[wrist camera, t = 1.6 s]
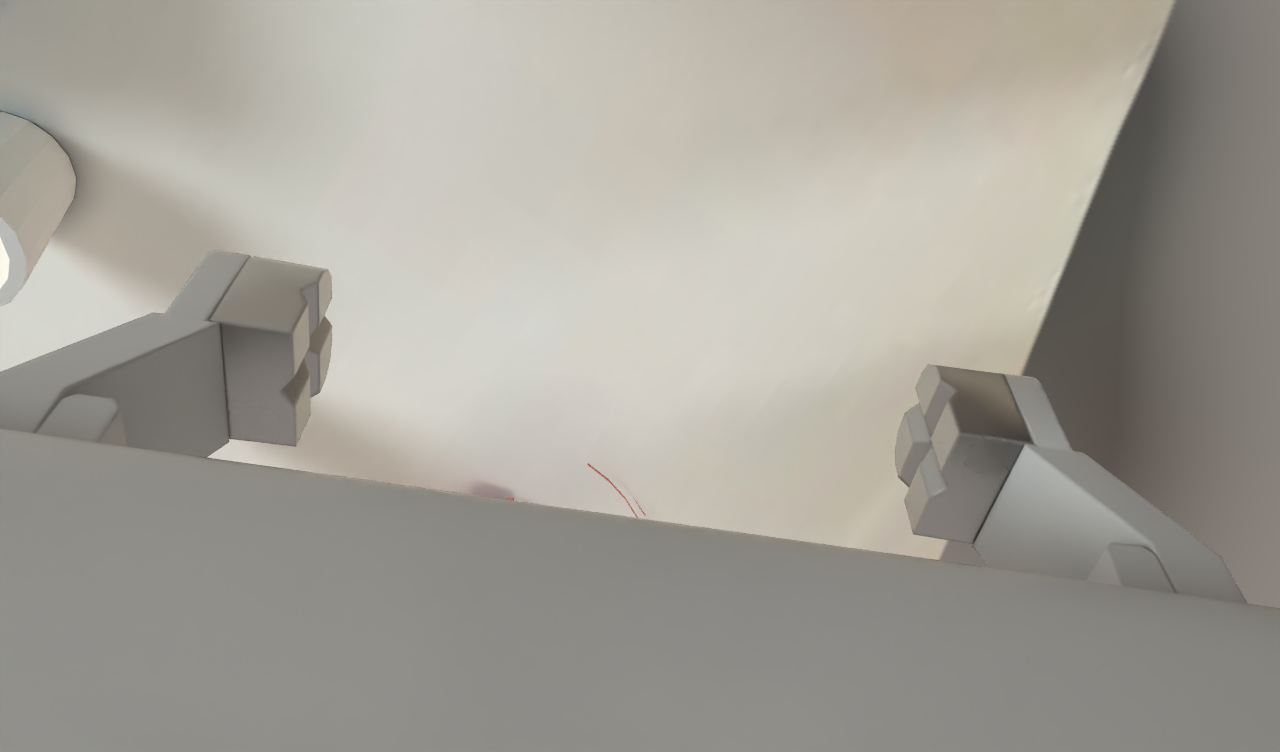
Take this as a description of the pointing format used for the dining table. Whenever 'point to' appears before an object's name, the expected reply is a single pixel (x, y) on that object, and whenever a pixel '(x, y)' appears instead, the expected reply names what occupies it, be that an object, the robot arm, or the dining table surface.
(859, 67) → the dining table surface
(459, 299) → the dining table surface
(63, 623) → the robot arm
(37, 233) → the shot glass
